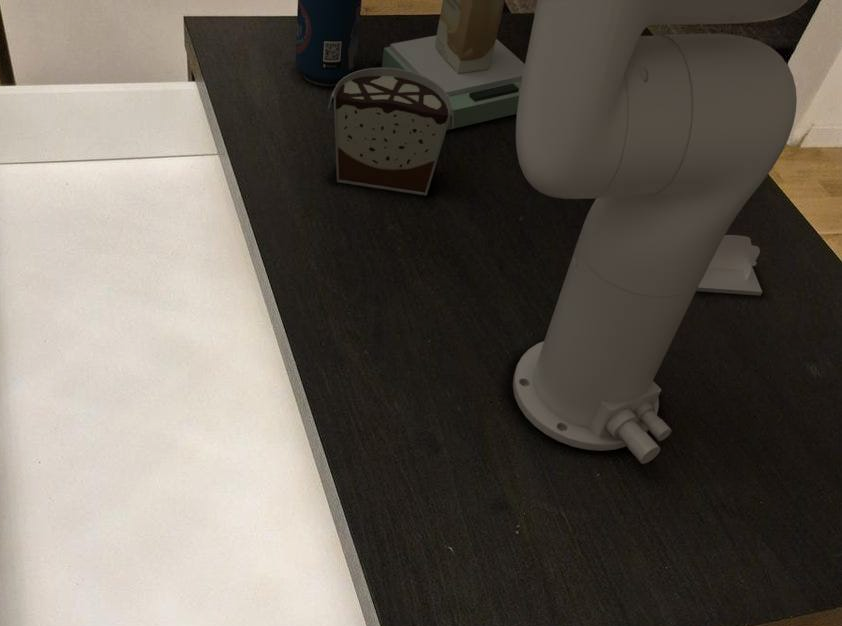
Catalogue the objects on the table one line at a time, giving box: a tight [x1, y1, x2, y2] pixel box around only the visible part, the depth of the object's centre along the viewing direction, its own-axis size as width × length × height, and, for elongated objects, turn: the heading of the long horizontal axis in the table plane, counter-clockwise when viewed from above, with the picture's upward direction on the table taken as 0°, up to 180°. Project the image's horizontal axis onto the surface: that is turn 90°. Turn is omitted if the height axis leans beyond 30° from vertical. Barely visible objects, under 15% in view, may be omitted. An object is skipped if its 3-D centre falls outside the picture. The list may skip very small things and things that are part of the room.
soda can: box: [295, 0, 362, 87], centre depth 105 cm, size 7×7×12 cm
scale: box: [381, 34, 525, 131], centre depth 110 cm, size 14×14×3 cm
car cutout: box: [696, 234, 763, 296], centre depth 93 cm, size 15×7×4 cm, turn 92°
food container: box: [326, 67, 455, 196], centre depth 96 cm, size 12×6×10 cm, turn 84°
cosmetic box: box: [435, 0, 506, 73], centre depth 105 cm, size 6×4×12 cm
